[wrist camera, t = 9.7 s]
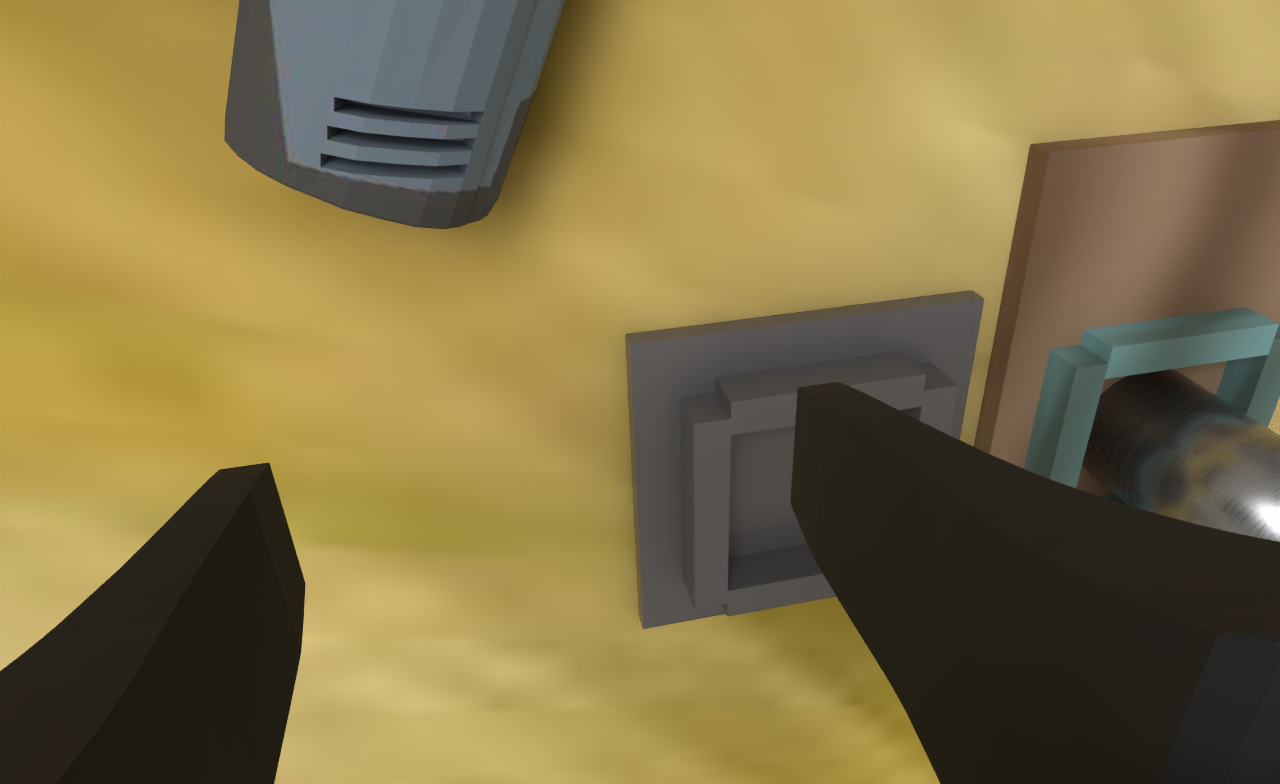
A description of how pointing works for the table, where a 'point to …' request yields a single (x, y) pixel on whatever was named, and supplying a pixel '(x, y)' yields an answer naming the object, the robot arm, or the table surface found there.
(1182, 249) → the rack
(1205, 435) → the peg
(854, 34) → the table surface
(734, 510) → the socket block
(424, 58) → the power drill
